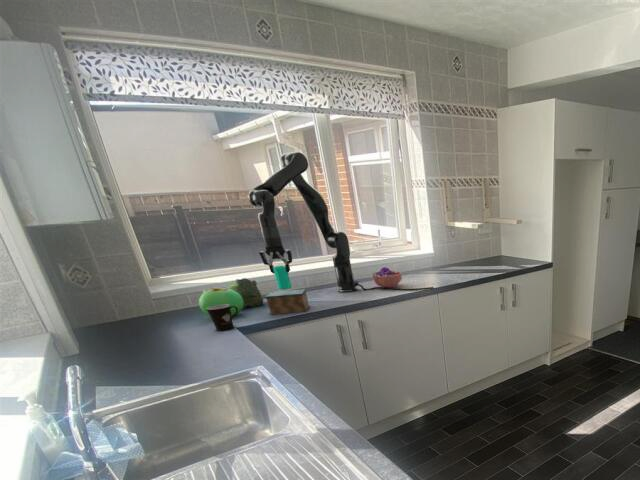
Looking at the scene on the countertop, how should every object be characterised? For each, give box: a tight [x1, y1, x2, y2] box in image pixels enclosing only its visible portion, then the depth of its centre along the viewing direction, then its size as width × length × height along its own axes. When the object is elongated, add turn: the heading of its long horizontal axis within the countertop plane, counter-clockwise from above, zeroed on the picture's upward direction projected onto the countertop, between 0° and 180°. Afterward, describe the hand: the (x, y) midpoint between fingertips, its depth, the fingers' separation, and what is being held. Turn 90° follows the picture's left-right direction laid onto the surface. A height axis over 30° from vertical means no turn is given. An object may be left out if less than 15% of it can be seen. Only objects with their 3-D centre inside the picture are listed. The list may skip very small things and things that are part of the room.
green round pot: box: [198, 283, 244, 317], centre depth 203 cm, size 18×17×15 cm
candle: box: [273, 263, 293, 290], centre depth 206 cm, size 6×6×12 cm
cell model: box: [371, 267, 403, 288], centre depth 254 cm, size 17×20×11 cm
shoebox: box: [265, 288, 310, 315], centre depth 212 cm, size 17×11×9 cm, turn 104°
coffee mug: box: [206, 304, 238, 332], centre depth 187 cm, size 12×9×10 cm
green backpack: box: [234, 277, 264, 310], centre depth 218 cm, size 11×19×15 cm, turn 115°
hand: (280, 272), depth 205 cm, fingers closed on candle, 6 cm apart
